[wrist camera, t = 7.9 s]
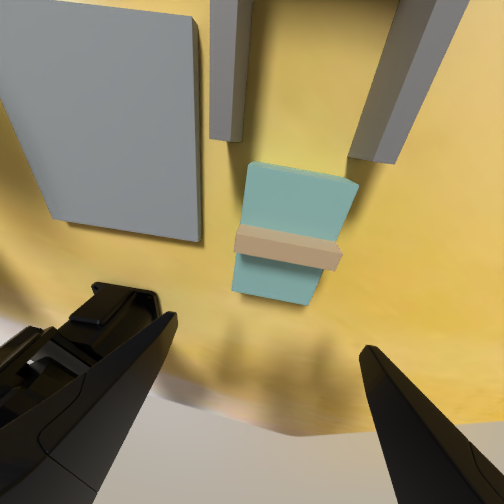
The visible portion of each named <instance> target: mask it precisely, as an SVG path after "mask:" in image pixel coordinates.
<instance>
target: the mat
mask: <svg viewBox="0 0 504 504" xmlns="http://www.w3.org/2000/svg"><path fill="white" fill-rule="evenodd" d="M0 99H1V101H2V104H3V106H4V108H5V110H6V113H7V115H8V117H9V120H10V122H11V124H12V126H13V129H14V131H15V133H16V136H17V138H18V140H19V143H20V145H21V147H22V149H23V152H24V154H25V156H26V159H27V161H28V163H29V166H30V168H31V170H32V172H33V175H34V177H35V179H36V182H37V184H38V186H39V189H40V191H41V193H42V195H43V198H44V200H45V202H46V205H47V207H48V209H49V212H50V214H51V216H52V218H53V219H55V220H61V221H67V222H74V223H80V224H86V225H93V226H99V227H105V228H112V229H118V230H124V231H131V232H137V233H143V234H149V235H156V236H162V237H168V238H175V239H181V240H187V241H194V242H199V240H200V239H201V181H200V124H199V66H198V25H197V24H196V22H195V21H194V19H193V18H192V16H184V15H175V14H167V13H158V12H150V11H141V10H133V9H124V8H116V7H107V6H99V5H90V4H82V3H73V2H65V1H56V0H0Z"/></svg>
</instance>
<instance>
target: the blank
mask: <svg viewBox="0 0 504 504" xmlns="http://www.w3.org/2000/svg"><path fill="white" fill-rule="evenodd" d="M359 186H360V185H358V184H356V183H354V182H352V181H350V180H348V179H346V178H344V177H340V176H334V175H329V174H323V173H318V172H312V171H307V170H301V169H296V168H290V167H285V166H279V165H274V164H268V163H263V162H257V161H252V162H251V163H250V164H248V169H247V177H246V184H245V192H244V199H243V207H242V215H241V222H240V226H239V228H238V230H237V232H236V237H235V246H234V252H236V260H235V268H234V275H233V283H232V290H231V291H234V292H239V293H245V294H250V295H255V296H260V297H265V298H271V299H276V300H281V301H286V302H291V303H297V304H302V305H307V306H308V305H309V303H310V300H311V298H312V296H313V293H314V291H315V289H316V286H317V284H318V282H319V279H320V277H321V275H322V272H323V270H324V269H325V270H331V271H335V270H336V268H337V266H338V264H339V261H340V259H341V257H342V255H343V253H342V251H341V250H340V248H339V246H338V245H337V243H336V240H337V237H338V235H339V233H340V230H341V228H342V226H343V223H344V221H345V219H346V216H347V214H348V212H349V209H350V207H351V205H352V202H353V200H354V197H355V195H356V193H357V190H358V188H359Z"/></svg>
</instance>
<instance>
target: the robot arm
mask: <svg viewBox="0 0 504 504" xmlns="http://www.w3.org/2000/svg"><path fill="white" fill-rule="evenodd" d="M91 288H92V290H93V293H94V296H93V297H91V298H90V299H89V300H88V301H87V302H86V303H84V304H83V305H82V306H81V307H80V308H78V309H77V310H76V311H75V312H74V313H72V314H71V315H70V316H69V320H68V321H67V322H66V323H65V324H64V325H63V326H61V327H60V328H59V329H58V330H57V329H56V328H54V327H53V326H51V327H49V328H47V329H44V330H42V329H41V328H40V329H39V328H36V327H32V326H28V327H26V328H24V329H23V330H22V331H20V332H19V333H18V334H16V335H15V336H14V337H12V338H11V339H10V340H8V341H7V342H6V343H4V344H3V345H2V346H0V504H92V503H93V501H94V499H95V497H96V495H97V492H98V491H99V489H100V487H101V485H102V483H103V481H104V479H105V477H106V475H107V474H108V471H109V470H110V468H111V466H112V464H113V462H114V460H115V458H116V456H117V454H118V452H119V449H120V448H121V446H122V444H123V442H124V440H125V438H126V436H127V434H128V432H129V430H130V428H131V426H132V424H133V422H134V420H135V418H136V416H137V414H138V412H139V410H140V408H141V406H142V405H143V403H144V401H145V398H146V397H147V395H148V393H149V391H150V389H151V387H152V385H153V383H154V381H155V379H156V377H157V375H158V373H159V371H160V369H161V367H162V365H163V363H164V361H165V358H166V356H167V353H168V351H169V348H170V346H171V343H172V340H173V338H174V335H175V333H176V330H177V327H178V319H177V313H176V312H171V311H168V312H166V313H164V314H163V315H162V316H160V314H159V308H158V303H157V297H156V294H155V293H154V292H153V291H149V290H143V289H137V288H131V287H126V286H120V285H114V284H108V283H102V282H95V283H94V284H92V285H91ZM29 360H32V361H34V362H33V363H32V364H30V365H29V364H27V361H29ZM359 362H360V367H361V373H362V378H363V383H364V388H365V392H366V397H367V400H368V404H369V407H370V411H371V414H372V417H373V421H374V424H375V427H376V431H377V434H378V438H379V441H380V444H381V447H382V451H383V454H384V458H385V461H386V464H387V468H388V471H389V474H390V477H391V481H392V484H393V488H394V491H395V495H396V498H397V501H398V504H504V475H503V474H502V473H501V472H500V471H499V470H498V469H497V468H496V467H495V466H494V465H493V464H492V463H491V462H490V461H489V460H488V459H487V458H486V457H485V456H484V455H483V454H482V453H481V452H480V451H479V450H478V449H477V448H476V447H475V446H474V445H473V444H472V443H471V442H470V441H468V439H467V438H466V437H465V436H464V435H463V434H462V433H461V432H460V431H459V430H458V429H457V428H456V427H455V425H454V424H453V423H452V422H451V421H450V420H449V419H448V418H447V417H446V416H445V415H444V414H443V413H442V412H441V411H440V410H439V409H438V408H437V407H436V406H435V405H434V404H433V403H432V402H431V401H430V400H429V399H428V398H427V397H426V396H425V395H424V394H423V393H422V392H421V391H420V390H419V389H418V388H417V387H416V386H415V385H414V384H413V383H412V382H411V381H410V380H409V379H408V378H407V377H406V376H405V375H404V374H403V373H402V372H401V371H400V369H399V368H398V367H397V366H396V365H395V364H394V363H393V362H392V361H391V360H390V359H389V358H388V357H387V356H386V355H385V354H384V353H383V352H382V351H381V350H380V349H379V348H378V347H376V346H373V345H366V346H365V347H364V349H363V350H362V352H361V353H360V355H359Z"/></svg>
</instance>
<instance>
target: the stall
mask: <svg viewBox="0 0 504 504" xmlns="http://www.w3.org/2000/svg"><path fill="white" fill-rule="evenodd" d="M468 3H469V0H400V2H399V5H398V8H397V11H396V14H395V17H394V20H393V23H392V26H391V28H390V31H389V34H388V37H387V40H386V43H385V46H384V49H383V52H382V55H381V58H380V61H379V64H378V67H377V70H376V73H375V76H374V79H373V82H372V85H371V88H370V91H369V94H368V97H367V100H366V103H365V106H364V109H363V112H362V115H361V118H360V121H359V124H358V127H357V130H356V133H355V136H354V139H353V142H352V145H351V148H350V151H349V154H348V157H352V158H357V159H362V160H367V161H372V162H380V163H387V164H394V165H395V162H396V160H397V158H398V156H399V154H400V151H401V149H402V147H403V145H404V143H405V141H406V138H407V136H408V134H409V132H410V130H411V127H412V125H413V123H414V121H415V119H416V116H417V114H418V112H419V110H420V108H421V106H422V103H423V101H424V99H425V97H426V95H427V92H428V90H429V88H430V86H431V84H432V81H433V79H434V77H435V75H436V73H437V71H438V68H439V66H440V64H441V62H442V60H443V57H444V55H445V53H446V51H447V49H448V46H449V44H450V42H451V40H452V38H453V35H454V33H455V31H456V29H457V27H458V25H459V22H460V20H461V18H462V16H463V14H464V11H465V9H466V7H467V5H468ZM252 8H253V0H210V120H209V139H215V140H222V141H229V142H242V133H243V121H244V108H245V96H246V83H247V71H248V58H249V46H250V33H251V21H252Z"/></svg>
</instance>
